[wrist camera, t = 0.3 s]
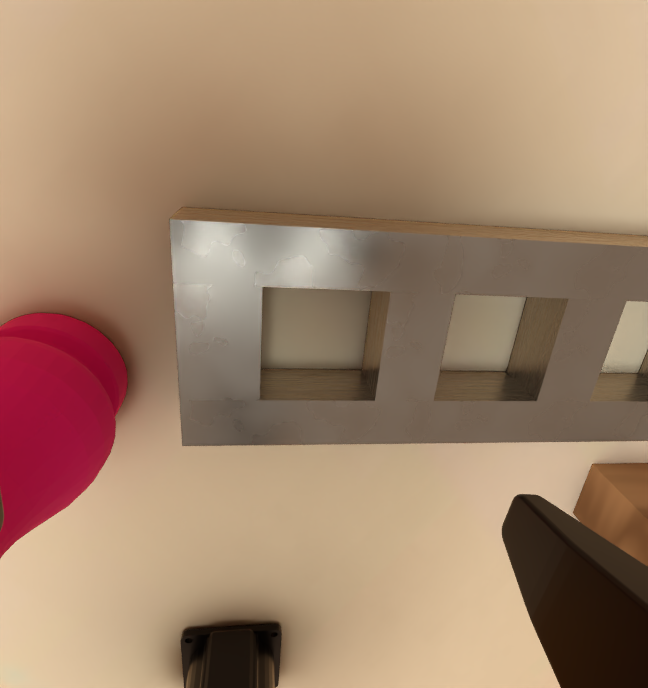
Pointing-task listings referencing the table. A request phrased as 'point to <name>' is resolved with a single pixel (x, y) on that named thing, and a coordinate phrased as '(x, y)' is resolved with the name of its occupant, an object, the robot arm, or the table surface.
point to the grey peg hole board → (403, 331)
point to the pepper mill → (53, 415)
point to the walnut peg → (617, 506)
